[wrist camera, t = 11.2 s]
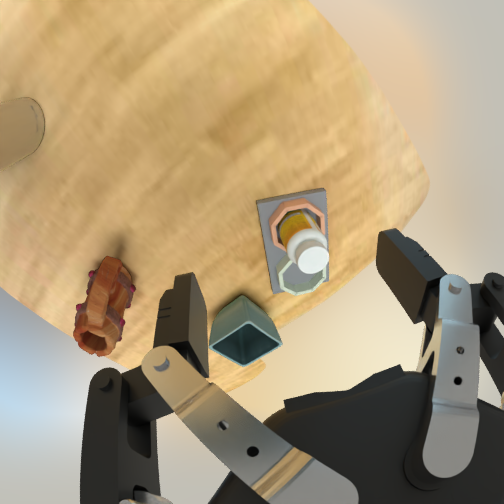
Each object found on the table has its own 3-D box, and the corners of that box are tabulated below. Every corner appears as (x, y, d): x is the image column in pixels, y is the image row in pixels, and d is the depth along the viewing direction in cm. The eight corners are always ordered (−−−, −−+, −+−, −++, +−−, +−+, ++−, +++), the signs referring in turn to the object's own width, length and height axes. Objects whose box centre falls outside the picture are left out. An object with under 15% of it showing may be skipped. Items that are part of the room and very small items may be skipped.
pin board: (272, 289, 50) (275, 302, 47) (256, 200, 40) (259, 210, 38) (326, 276, 50) (332, 288, 47) (323, 187, 41) (331, 196, 38)
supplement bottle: (317, 212, 41) (342, 248, 33) (302, 242, 44) (322, 282, 36) (285, 202, 40) (304, 236, 32) (270, 233, 42) (285, 273, 34)
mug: (131, 303, 48) (116, 372, 35) (90, 289, 45) (65, 355, 33) (151, 237, 41) (131, 308, 29) (102, 220, 39) (64, 284, 26)
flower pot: (206, 308, 51) (206, 348, 43) (242, 281, 48) (248, 320, 41) (238, 330, 55) (243, 368, 47) (274, 306, 52) (284, 344, 45)
